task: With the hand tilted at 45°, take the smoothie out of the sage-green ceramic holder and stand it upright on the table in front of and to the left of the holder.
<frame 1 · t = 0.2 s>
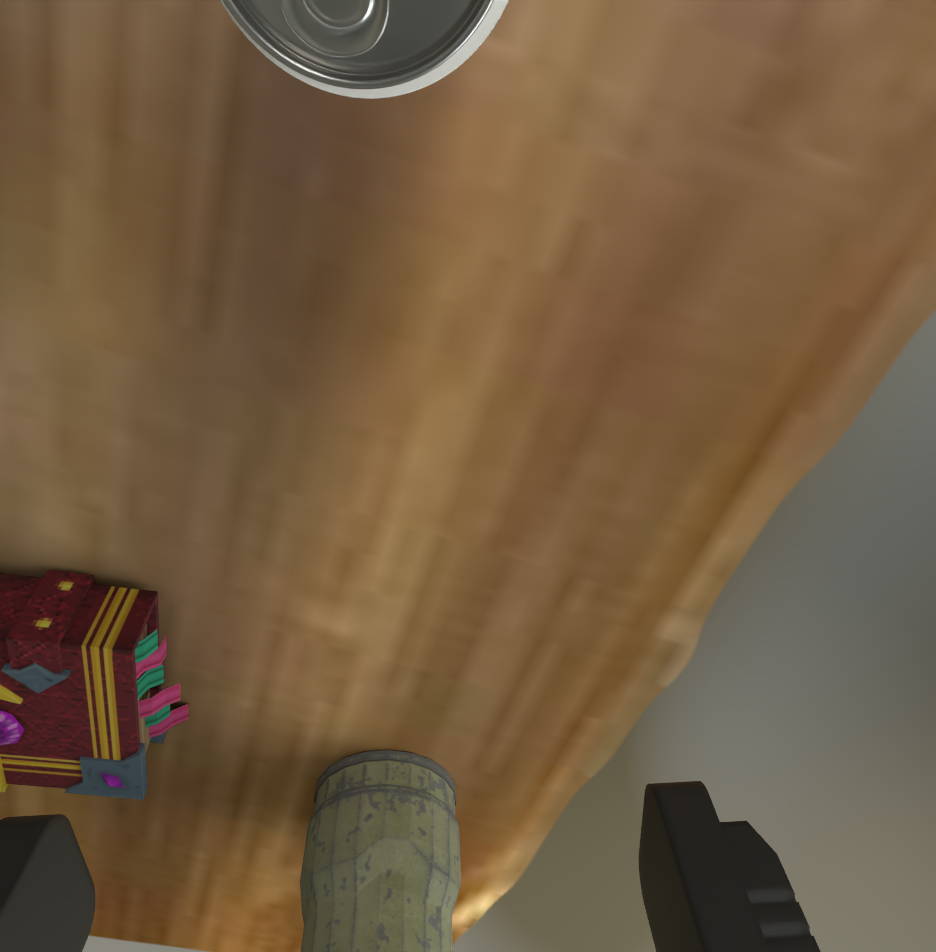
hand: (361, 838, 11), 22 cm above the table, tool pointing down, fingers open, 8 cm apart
thermos: (387, 790, 48), on the table
decorative book: (28, 642, 40), on the table
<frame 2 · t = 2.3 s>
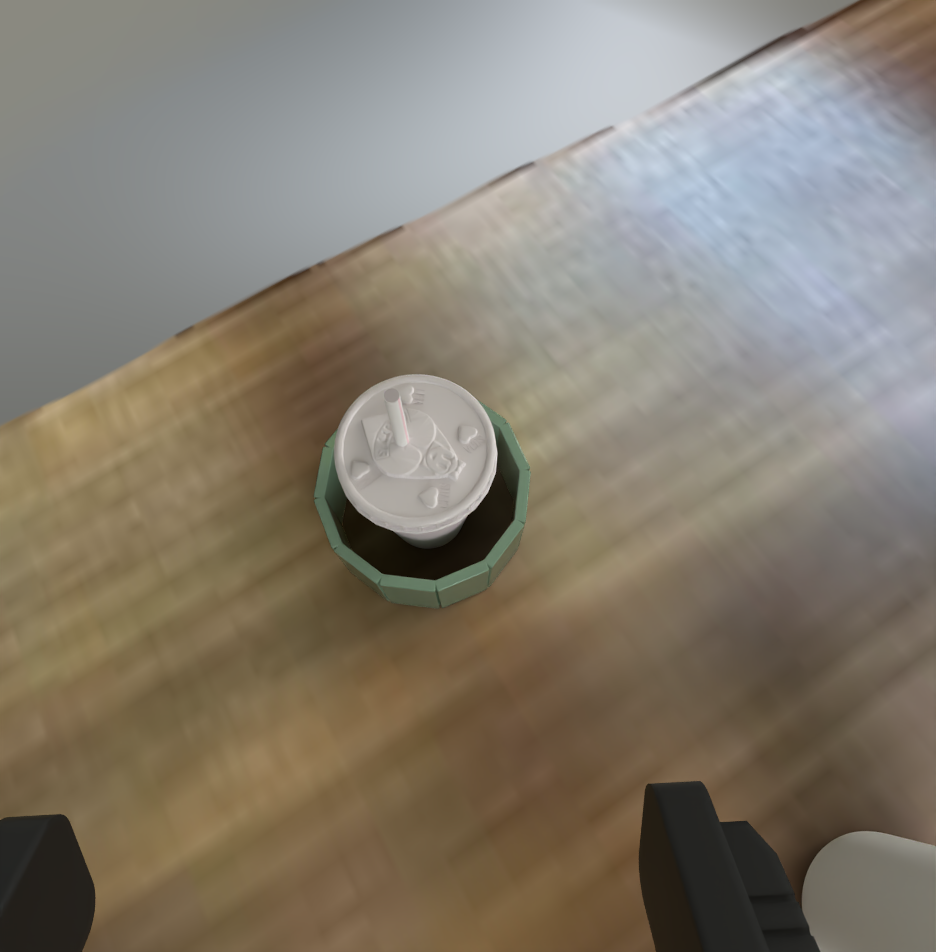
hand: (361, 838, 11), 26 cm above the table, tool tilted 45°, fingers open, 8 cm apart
smoothie: (428, 514, 39), resting in holder
holder: (428, 513, 39), on the table
can: (870, 909, 34), on the table
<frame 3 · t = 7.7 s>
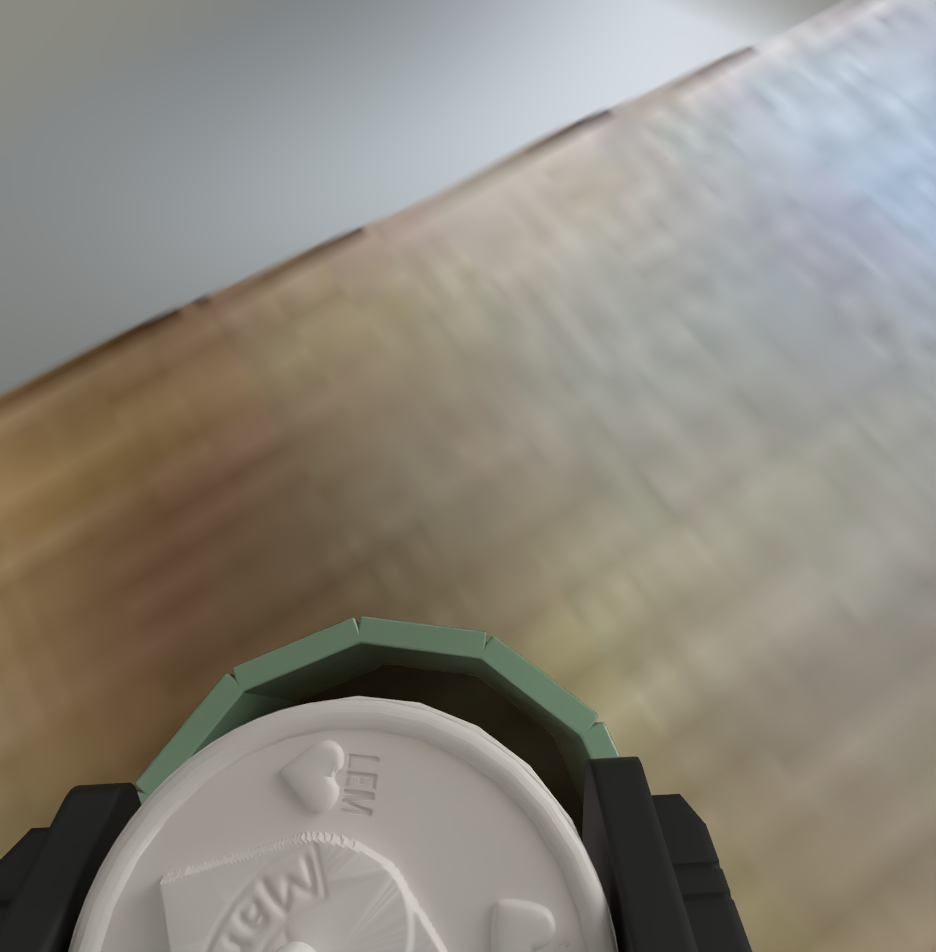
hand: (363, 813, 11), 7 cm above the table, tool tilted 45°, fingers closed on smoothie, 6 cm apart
smoothie: (406, 856, 18), resting in holder, touching gripper
holder: (406, 857, 18), on the table
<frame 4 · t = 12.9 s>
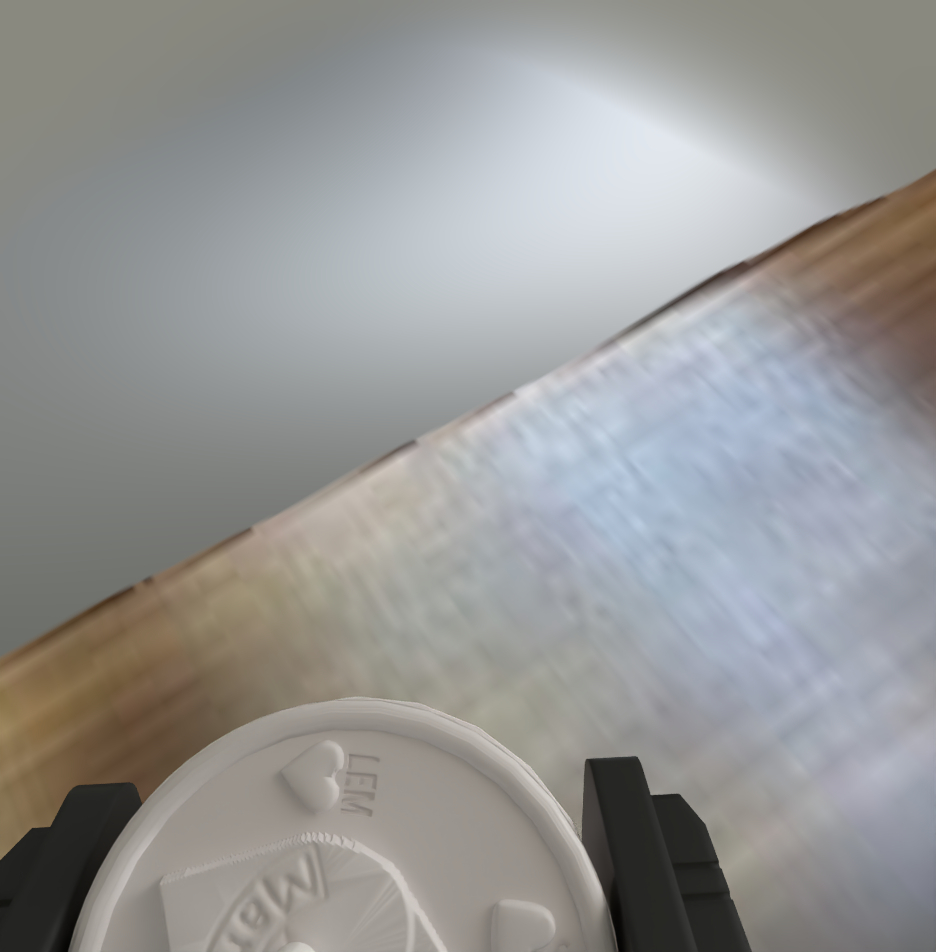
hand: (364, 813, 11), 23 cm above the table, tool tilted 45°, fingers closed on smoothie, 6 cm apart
smoothie: (406, 856, 18), point 15 cm above the table, touching gripper
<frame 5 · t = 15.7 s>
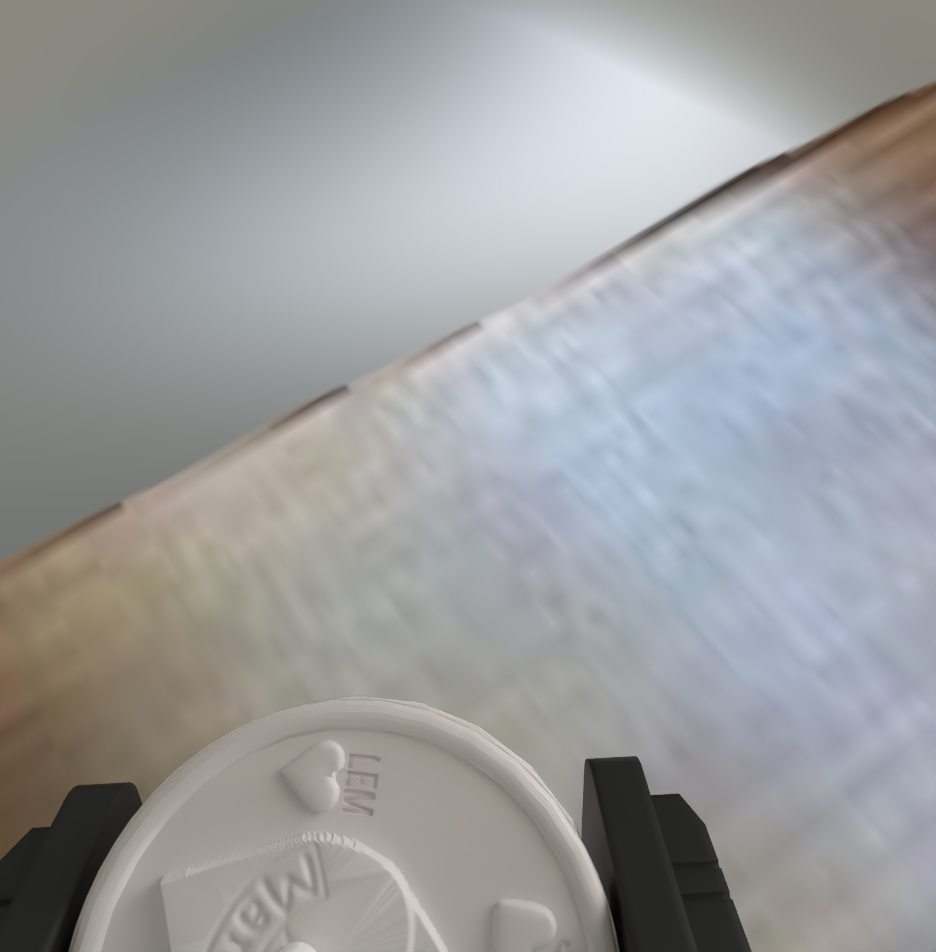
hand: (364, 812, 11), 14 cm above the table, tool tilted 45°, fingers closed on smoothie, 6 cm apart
smoothie: (406, 856, 18), point 6 cm above the table, touching gripper
when the fingers open (7 cm above the table, at t = 18.1 s): smoothie stays where it is, on the table.
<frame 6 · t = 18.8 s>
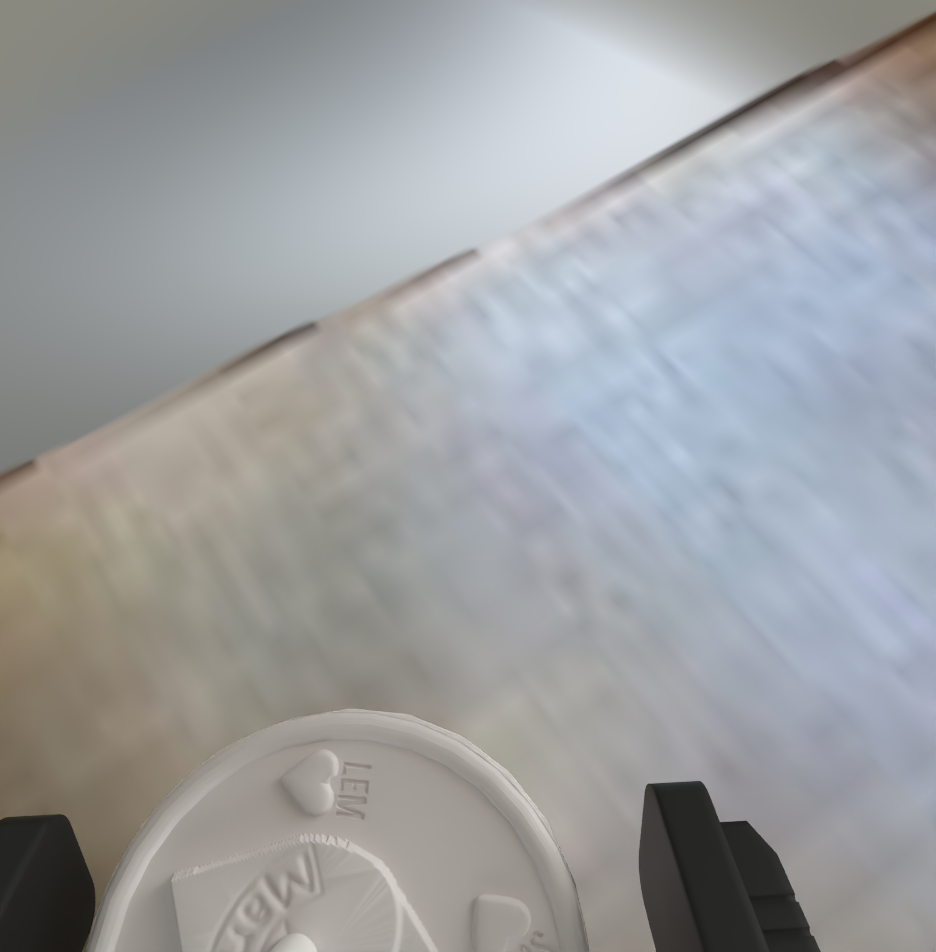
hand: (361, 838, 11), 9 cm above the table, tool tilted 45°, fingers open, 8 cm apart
smoothie: (400, 856, 19), on the table
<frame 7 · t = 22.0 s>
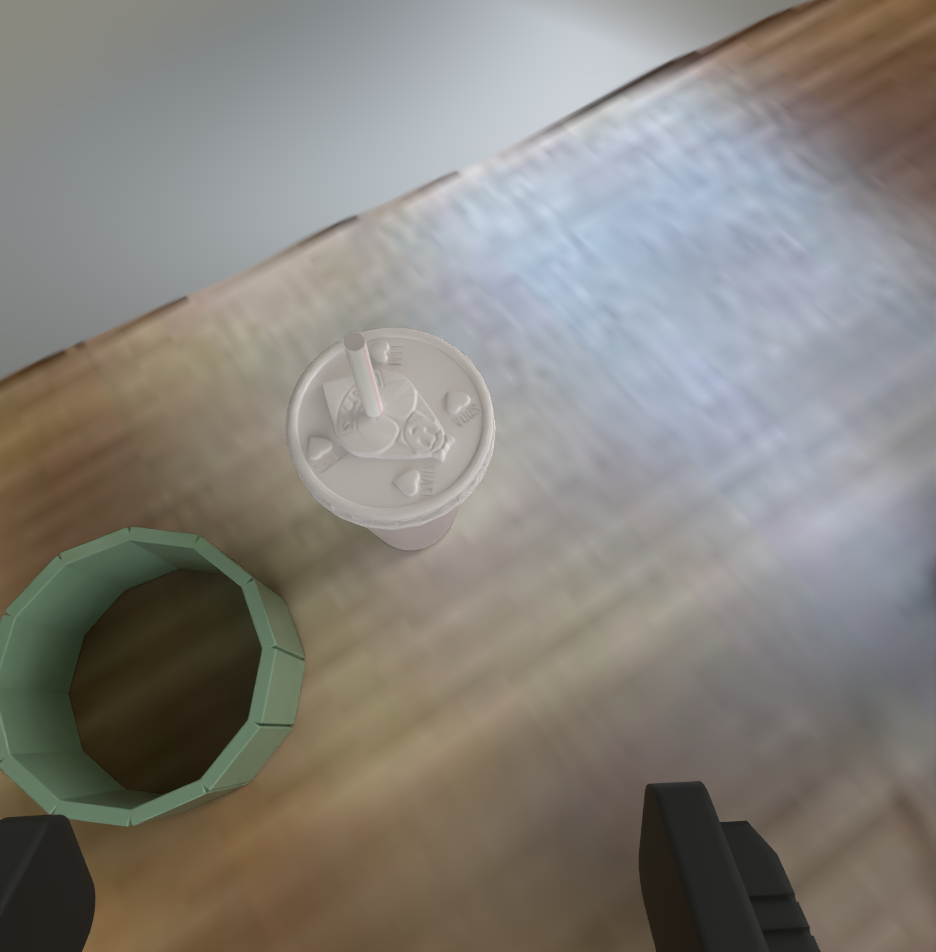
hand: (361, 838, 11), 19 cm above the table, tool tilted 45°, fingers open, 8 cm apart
smoothie: (412, 508, 33), on the table
holder: (182, 677, 30), on the table
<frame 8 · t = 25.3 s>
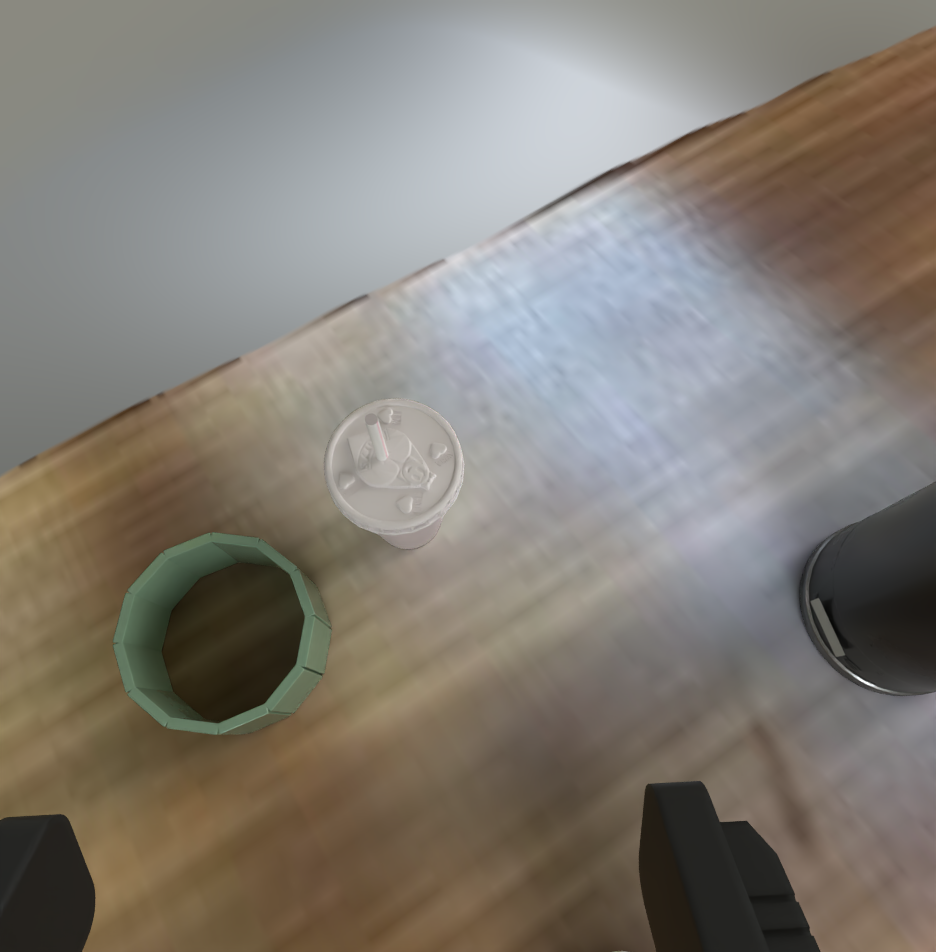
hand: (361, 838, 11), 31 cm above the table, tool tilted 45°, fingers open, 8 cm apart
smoothie: (409, 518, 44), on the table
holder: (242, 640, 42), on the table
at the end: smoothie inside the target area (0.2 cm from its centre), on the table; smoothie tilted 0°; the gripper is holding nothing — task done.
